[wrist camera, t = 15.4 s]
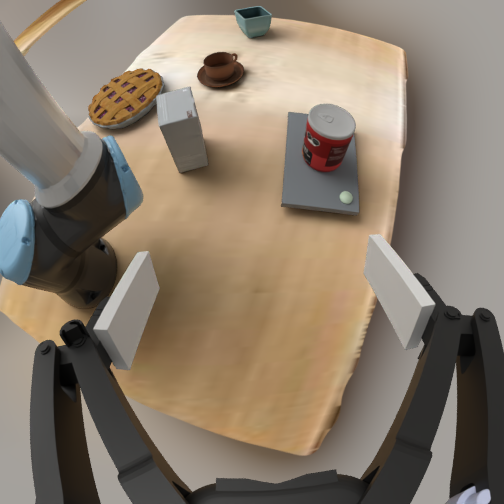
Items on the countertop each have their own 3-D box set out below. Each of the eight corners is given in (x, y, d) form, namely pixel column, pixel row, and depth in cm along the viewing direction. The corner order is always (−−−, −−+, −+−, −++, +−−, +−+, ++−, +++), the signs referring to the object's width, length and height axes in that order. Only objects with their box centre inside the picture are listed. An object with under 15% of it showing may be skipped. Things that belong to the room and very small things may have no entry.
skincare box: (174, 145, 56) (151, 95, 41) (205, 135, 57) (190, 83, 41) (179, 176, 54) (153, 127, 39) (213, 166, 54) (197, 113, 39)
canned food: (305, 136, 52) (312, 98, 41) (343, 147, 51) (357, 111, 40) (297, 166, 50) (304, 129, 39) (338, 178, 49) (354, 143, 39)
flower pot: (272, 37, 67) (272, 14, 58) (246, 42, 66) (244, 19, 58) (261, 26, 69) (260, 5, 61) (235, 31, 69) (233, 10, 60)
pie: (183, 89, 62) (178, 76, 57) (119, 146, 58) (110, 134, 53) (136, 71, 66) (131, 59, 61) (81, 118, 62) (74, 108, 57)
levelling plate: (280, 210, 51) (281, 202, 48) (287, 120, 57) (288, 110, 53) (354, 218, 50) (359, 211, 47) (349, 129, 56) (353, 119, 52)
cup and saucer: (212, 61, 64) (209, 45, 58) (251, 68, 63) (250, 51, 57) (190, 86, 62) (185, 69, 56) (231, 94, 60) (228, 76, 54)
